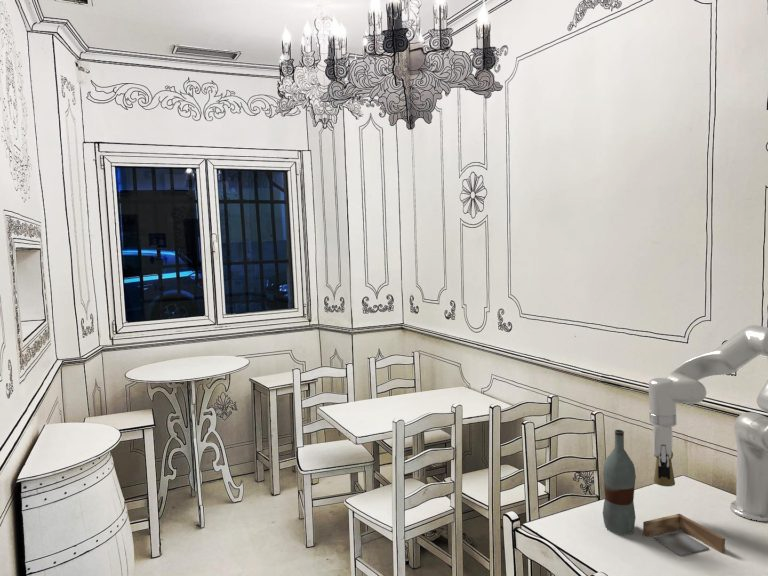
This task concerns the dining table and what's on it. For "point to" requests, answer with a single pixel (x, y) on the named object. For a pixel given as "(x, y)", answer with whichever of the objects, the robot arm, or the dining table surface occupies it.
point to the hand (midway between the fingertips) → (664, 475)
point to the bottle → (619, 489)
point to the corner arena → (683, 535)
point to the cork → (664, 480)
